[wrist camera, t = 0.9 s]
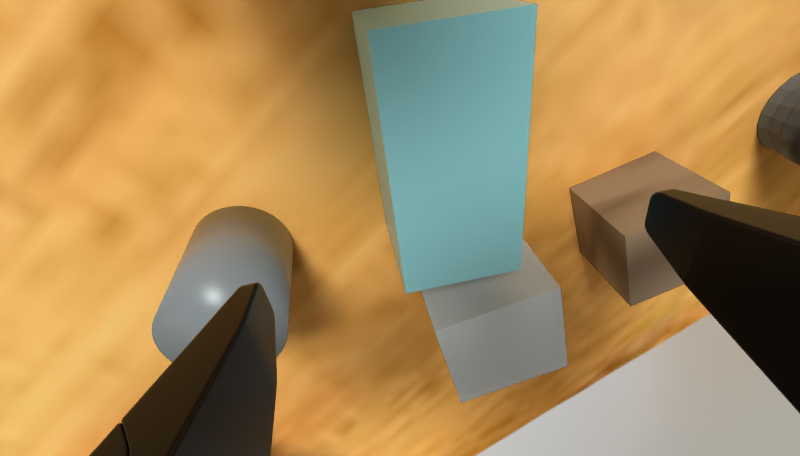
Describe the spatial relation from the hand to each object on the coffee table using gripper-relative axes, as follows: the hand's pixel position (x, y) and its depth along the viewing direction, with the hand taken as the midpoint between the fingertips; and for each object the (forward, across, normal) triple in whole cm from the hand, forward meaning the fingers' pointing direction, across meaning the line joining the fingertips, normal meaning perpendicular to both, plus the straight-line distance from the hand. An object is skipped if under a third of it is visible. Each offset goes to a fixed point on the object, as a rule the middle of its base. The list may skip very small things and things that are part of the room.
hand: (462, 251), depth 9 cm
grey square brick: (+11, -3, +11) cm, 16 cm away
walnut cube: (+11, -12, +8) cm, 19 cm away
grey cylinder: (+11, +9, +6) cm, 15 cm away
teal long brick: (+11, -2, +1) cm, 12 cm away
